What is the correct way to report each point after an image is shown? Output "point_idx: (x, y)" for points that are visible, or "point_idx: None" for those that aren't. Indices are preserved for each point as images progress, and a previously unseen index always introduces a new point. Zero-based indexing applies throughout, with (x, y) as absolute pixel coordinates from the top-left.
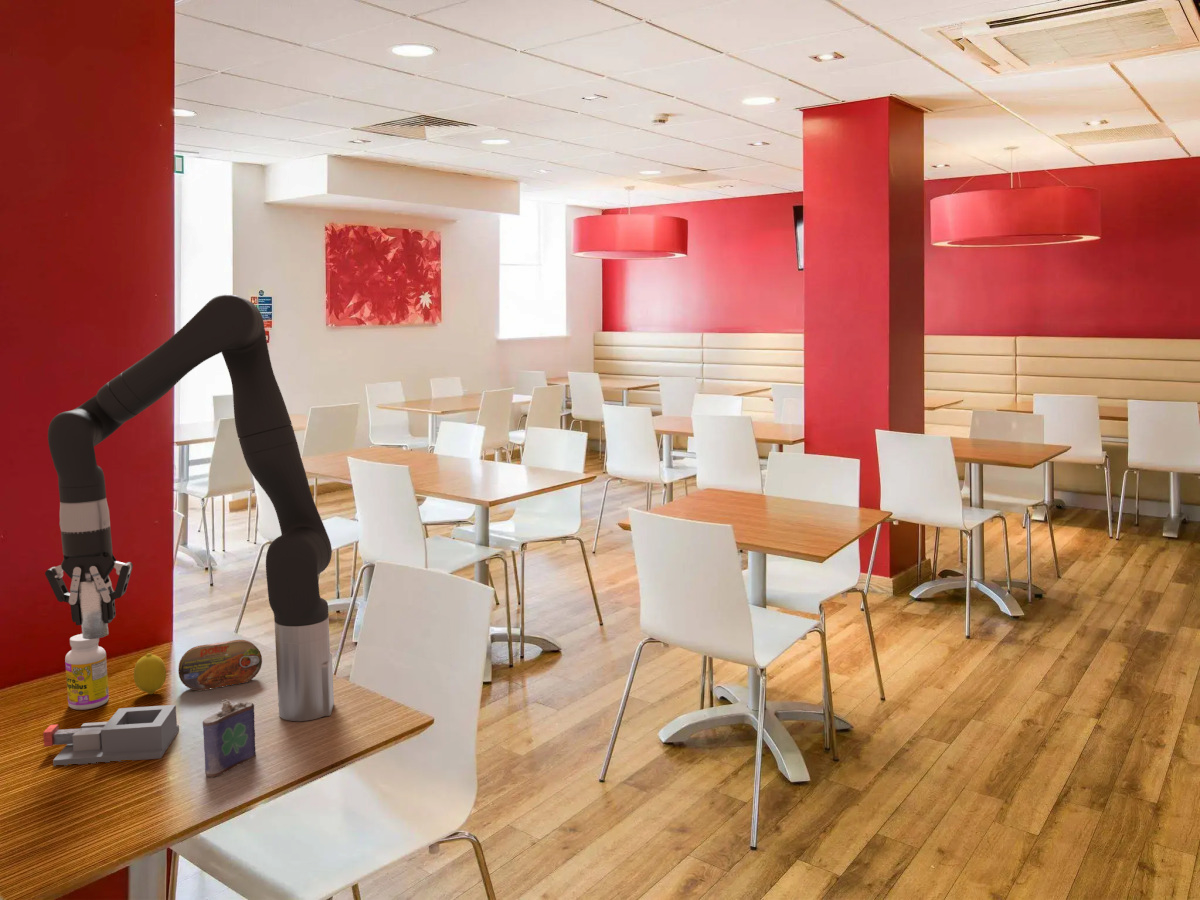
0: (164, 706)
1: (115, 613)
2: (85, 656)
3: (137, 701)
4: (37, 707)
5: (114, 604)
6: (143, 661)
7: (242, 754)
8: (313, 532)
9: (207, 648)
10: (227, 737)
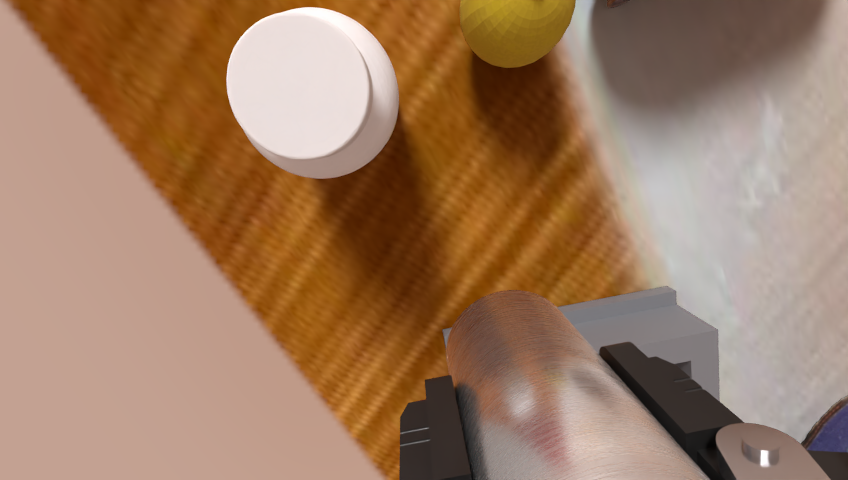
0: (690, 341)
1: (680, 372)
2: (353, 161)
3: (479, 88)
4: (200, 136)
5: (731, 420)
6: (524, 29)
7: None
8: None
9: None
10: None
